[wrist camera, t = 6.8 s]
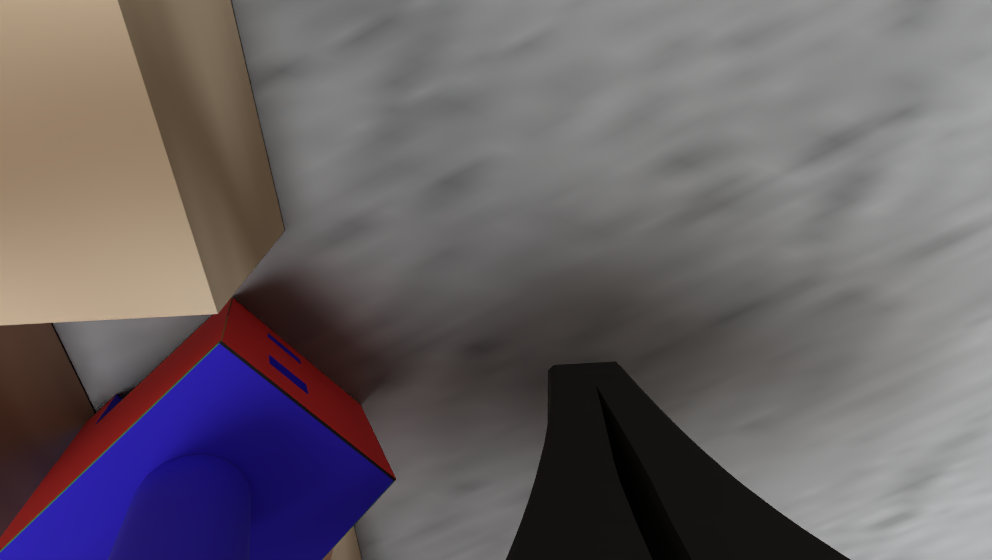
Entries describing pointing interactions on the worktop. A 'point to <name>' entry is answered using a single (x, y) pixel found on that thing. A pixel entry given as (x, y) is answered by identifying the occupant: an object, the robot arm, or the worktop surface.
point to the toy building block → (211, 461)
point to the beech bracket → (117, 196)
